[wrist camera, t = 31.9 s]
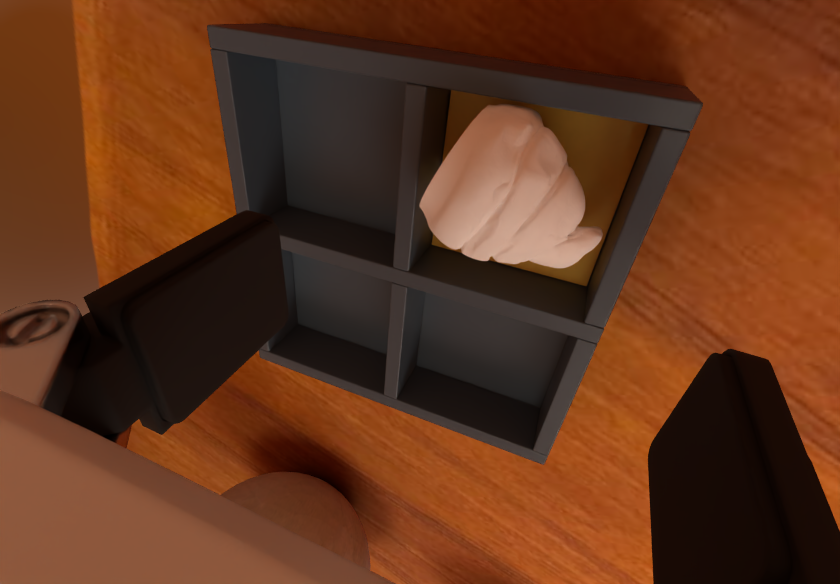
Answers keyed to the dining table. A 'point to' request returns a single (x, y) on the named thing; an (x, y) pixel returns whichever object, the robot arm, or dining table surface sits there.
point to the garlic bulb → (509, 193)
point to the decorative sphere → (306, 511)
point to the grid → (408, 229)
